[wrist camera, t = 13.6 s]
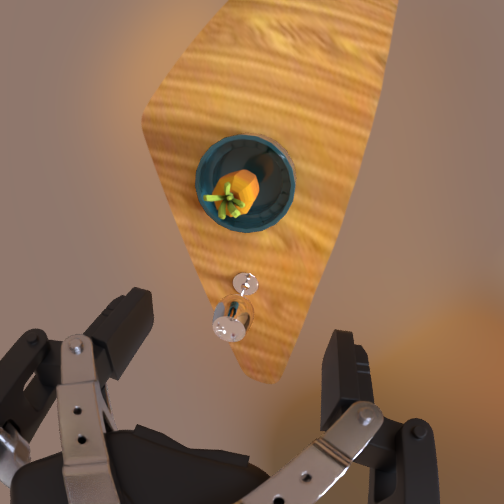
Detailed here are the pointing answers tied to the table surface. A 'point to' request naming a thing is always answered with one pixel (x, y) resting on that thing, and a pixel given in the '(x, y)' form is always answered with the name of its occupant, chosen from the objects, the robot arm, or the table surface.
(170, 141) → the table surface
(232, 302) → the wineglass
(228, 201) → the carrot
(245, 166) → the bowl
